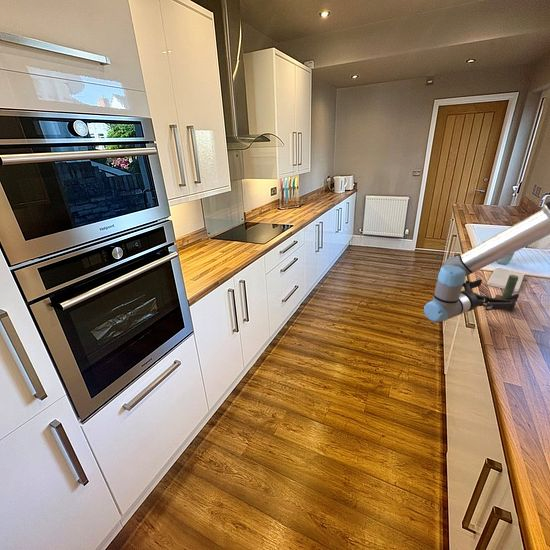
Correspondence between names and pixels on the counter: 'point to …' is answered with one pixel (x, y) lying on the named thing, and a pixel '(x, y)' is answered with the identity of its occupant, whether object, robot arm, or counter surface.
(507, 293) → the brush
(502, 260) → the cup
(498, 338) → the counter surface
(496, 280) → the tile
